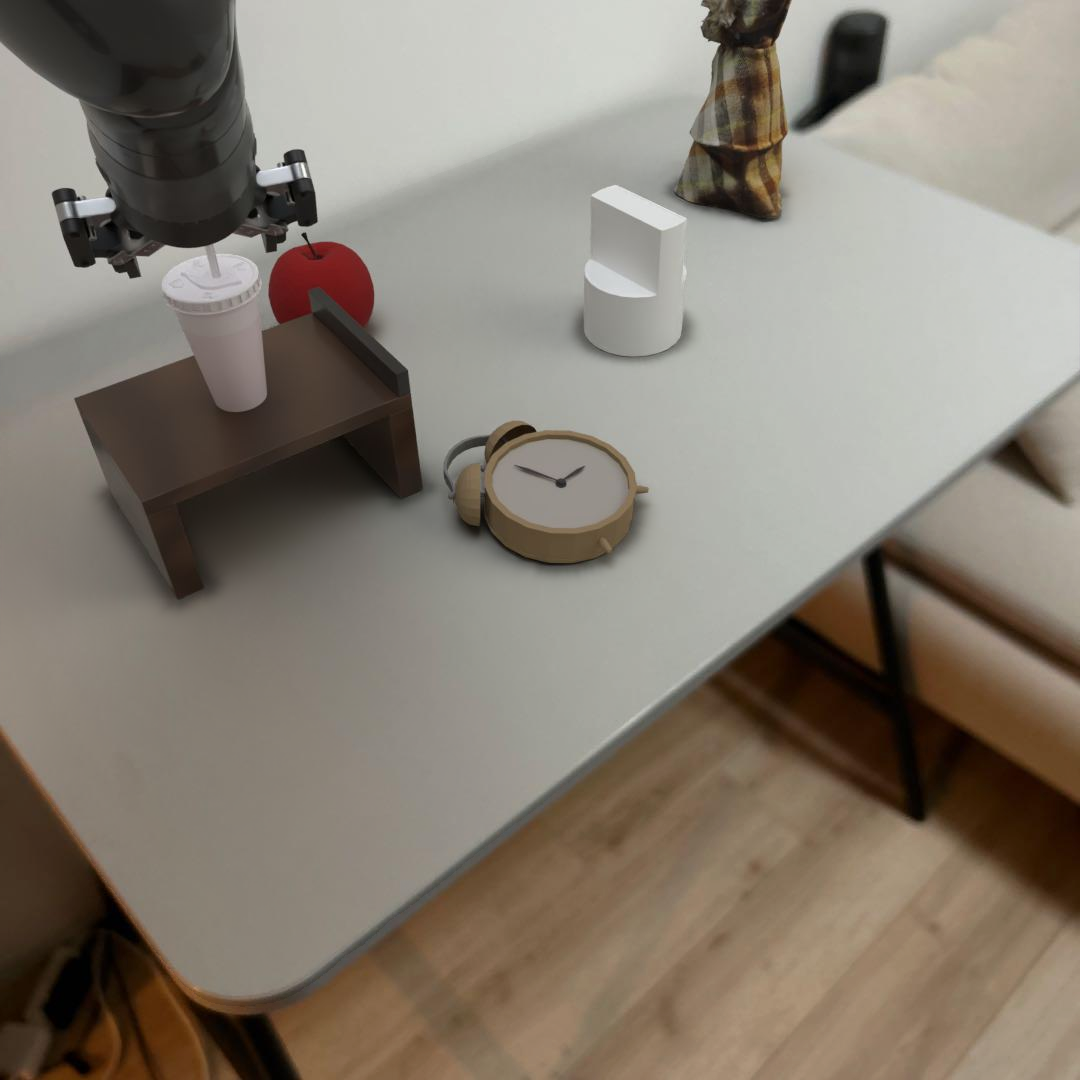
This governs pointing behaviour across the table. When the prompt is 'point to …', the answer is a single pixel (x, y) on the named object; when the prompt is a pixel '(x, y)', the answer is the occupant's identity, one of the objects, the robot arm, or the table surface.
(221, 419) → the shelf
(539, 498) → the alarm clock
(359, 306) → the apple
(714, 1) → the plaid figurine
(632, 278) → the cylinder with rectangular tab
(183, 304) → the smoothie
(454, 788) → the table surface
